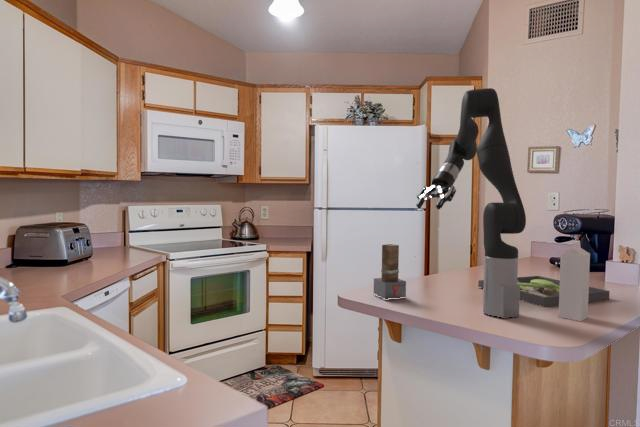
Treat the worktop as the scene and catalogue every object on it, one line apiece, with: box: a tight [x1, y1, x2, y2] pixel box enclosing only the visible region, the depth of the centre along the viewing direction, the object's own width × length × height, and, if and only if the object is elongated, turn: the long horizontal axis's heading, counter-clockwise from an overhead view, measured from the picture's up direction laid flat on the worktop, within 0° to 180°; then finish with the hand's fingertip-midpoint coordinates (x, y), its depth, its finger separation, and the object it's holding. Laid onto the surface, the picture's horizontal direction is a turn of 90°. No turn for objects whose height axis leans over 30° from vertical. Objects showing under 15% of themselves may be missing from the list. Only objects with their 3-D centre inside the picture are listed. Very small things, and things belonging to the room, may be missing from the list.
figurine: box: [517, 279, 560, 294], centre depth 161 cm, size 18×27×6 cm
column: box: [380, 243, 400, 281], centre depth 153 cm, size 4×4×12 cm
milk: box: [558, 241, 591, 322], centre depth 130 cm, size 6×6×22 cm
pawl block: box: [373, 277, 407, 299], centre depth 153 cm, size 8×8×6 cm
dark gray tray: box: [477, 275, 610, 307], centre depth 161 cm, size 30×30×3 cm
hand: (427, 207), depth 164 cm, fingers open, 8 cm apart
